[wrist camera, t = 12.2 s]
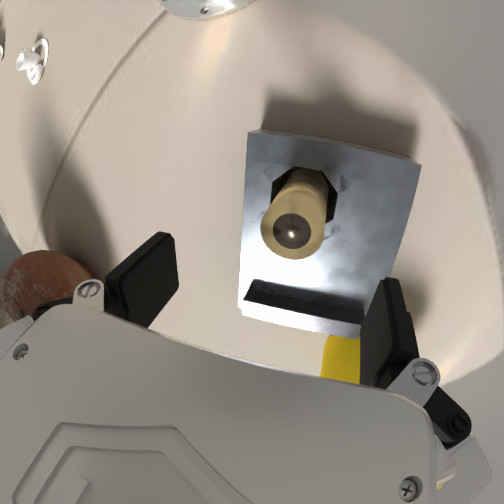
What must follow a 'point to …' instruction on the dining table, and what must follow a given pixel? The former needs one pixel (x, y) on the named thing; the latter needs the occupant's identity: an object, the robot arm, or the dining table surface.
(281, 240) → the cylinder
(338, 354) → the yellow hollow cylinder
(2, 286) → the jug
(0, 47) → the spread jar
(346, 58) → the dining table surface
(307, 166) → the jig
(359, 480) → the robot arm
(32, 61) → the teacup and saucer
